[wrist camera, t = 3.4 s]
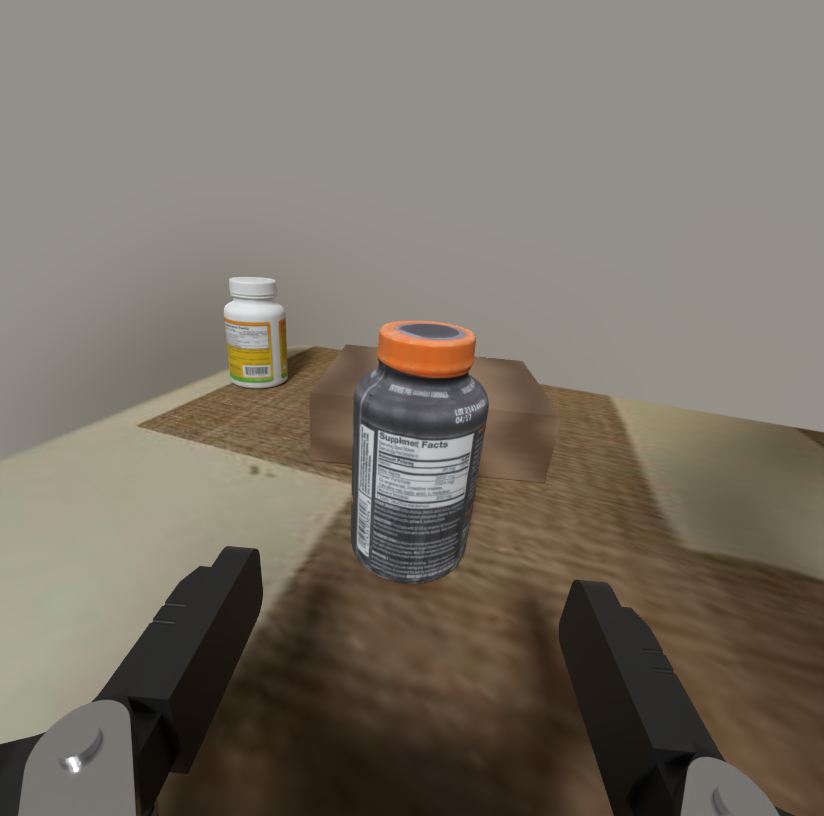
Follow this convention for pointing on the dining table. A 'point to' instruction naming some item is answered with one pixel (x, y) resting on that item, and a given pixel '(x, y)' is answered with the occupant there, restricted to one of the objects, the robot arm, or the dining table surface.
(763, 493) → the dining table surface
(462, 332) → the pill bottle
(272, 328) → the supplement bottle
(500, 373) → the stand
